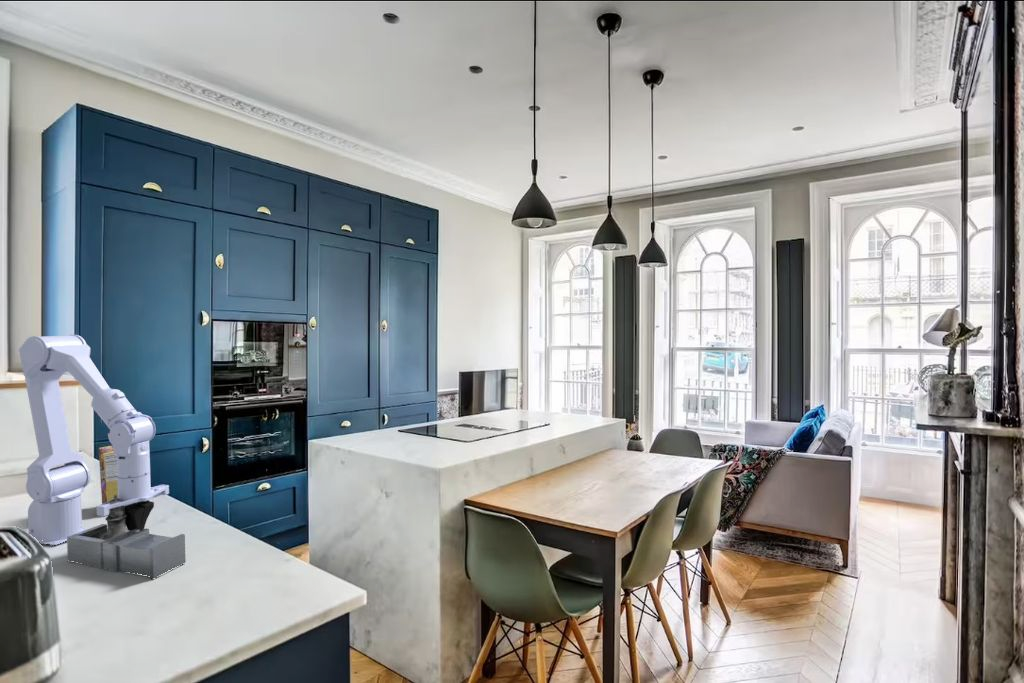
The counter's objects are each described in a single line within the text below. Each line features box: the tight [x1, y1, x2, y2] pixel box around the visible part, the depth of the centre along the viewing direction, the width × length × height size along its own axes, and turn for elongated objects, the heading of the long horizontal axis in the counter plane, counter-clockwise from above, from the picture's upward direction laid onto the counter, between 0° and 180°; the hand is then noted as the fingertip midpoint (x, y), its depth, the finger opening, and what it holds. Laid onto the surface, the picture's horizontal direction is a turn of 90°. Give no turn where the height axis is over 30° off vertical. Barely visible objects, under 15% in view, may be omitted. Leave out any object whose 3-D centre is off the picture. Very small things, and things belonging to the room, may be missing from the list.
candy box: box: [98, 445, 118, 504], centre depth 137 cm, size 9×4×15 cm, turn 44°
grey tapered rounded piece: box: [99, 495, 131, 540], centre depth 112 cm, size 6×6×12 cm
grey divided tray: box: [66, 523, 187, 579], centre depth 108 cm, size 23×7×6 cm, turn 73°
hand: (136, 537), depth 116 cm, fingers closed
